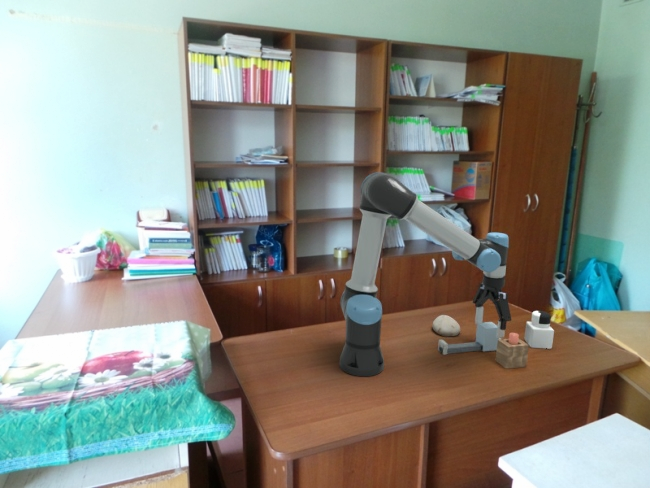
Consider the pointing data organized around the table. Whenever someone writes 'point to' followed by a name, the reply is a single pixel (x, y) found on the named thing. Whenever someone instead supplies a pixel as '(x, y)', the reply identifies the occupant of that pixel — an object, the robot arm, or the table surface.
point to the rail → (459, 347)
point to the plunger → (513, 338)
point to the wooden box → (511, 354)
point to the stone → (446, 326)
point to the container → (539, 330)
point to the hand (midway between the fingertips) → (489, 330)
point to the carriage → (487, 335)
